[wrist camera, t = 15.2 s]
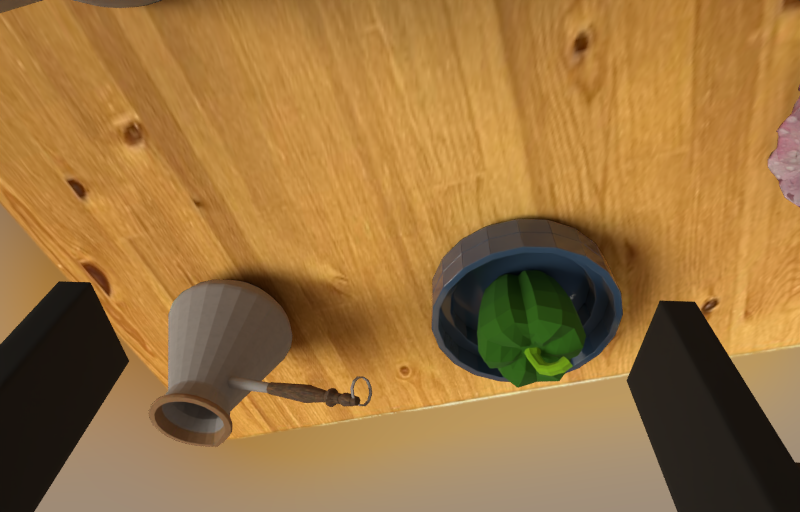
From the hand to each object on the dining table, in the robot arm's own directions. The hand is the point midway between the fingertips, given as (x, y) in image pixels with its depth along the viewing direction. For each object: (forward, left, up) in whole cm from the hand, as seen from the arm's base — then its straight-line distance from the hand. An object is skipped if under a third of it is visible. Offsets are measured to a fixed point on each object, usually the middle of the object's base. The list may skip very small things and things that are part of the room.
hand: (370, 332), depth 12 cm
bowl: (+10, -21, -27) cm, 35 cm away
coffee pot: (-12, -23, -27) cm, 37 cm away
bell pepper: (+10, -21, -26) cm, 35 cm away
